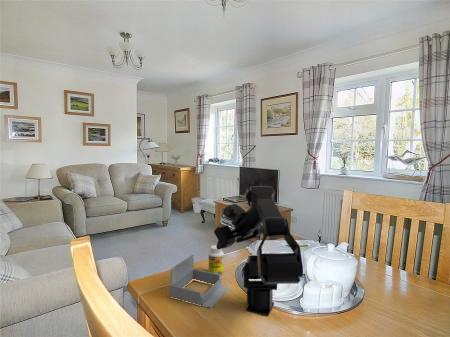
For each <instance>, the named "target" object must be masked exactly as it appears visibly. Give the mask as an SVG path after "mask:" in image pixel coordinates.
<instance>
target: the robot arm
mask: <svg viewBox="0 0 450 337" xmlns="http://www.w3.org/2000/svg"><path fill="white" fill-rule="evenodd" d="M276 195H277V194H276V190H275V189H274V188H273V186H271V185H270V186H269V185H262V183H260V180H252V183H250V184H248V185H247V187H246V188H245V193H244V194H243V196H244V199H245V200H246V202H247V205H248V206H249V208H248V209H247V210H245V209H244V208H243V207H241V206H240V205H238V203H237V204H236V203H232V204H227V206H225V208H223V211H222V215H223V216H225V217H226V218H227V219H230V220H232V221H231V225H232V226H234V229H233V230H231V228H230V226H229V225H227V224H223V225H219V226H216V227H215V229H214V230H213V233H214V234H215V236H216V238H217V243H216V245H217V246H216V247H217V249H218V250H219V249H222V250H223V249H227V248H229V247H232V246H233V245H234V244H235V243H236V244H238V243H239V244H240V243H241V242H245V241H248V240H252V239H255V238H257V237H261V236H263V237H262V239H261V240H260V243H259V244H258V245H259V246H258V247H257V250H256V255H248V258H247V260H246V262H244V266H243V267H242V271H243V272H242V274H243V276H242V277H243V288H245V289H246V305H247V306H246V311H248V312H251V313H255V314H259V315H262V316H263V315H264V316H267V317H268V316H270V313H271V311H272V310H273V308H274V306H273V305H275V303H274V302H273V296H274V295H273V290H274V291H277V290H278V284H279V285H280V284H285V285H287V284H289V285H290V284H294V285H295V284H299V283H300V282H301V278H302V277H303V275H304V265H303V257H302V252H301V247H300V244H298V242H297V241H296V240H295V238H294V236H293V235H292V234H291V233H290V227H289V222H288V219H287V218H284V217H283V215H282V213H281V212H280V210H279V208H278V206H277V205H276V201H277V200H276V198H277V196H276ZM267 237H282V238H283V239H284V241H285V242H286V243H287V245H288V246H289V248H290V249H291V251H292V252H288V253H287V252H285V253H284V252H281V253H280V252H277V253H274V252H273V253H270V252H269V253H263V249H262V247H263V245H264V243H265V241H266V239H267Z"/></svg>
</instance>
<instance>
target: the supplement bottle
mask: <svg viewBox="0 0 450 337" xmlns="http://www.w3.org/2000/svg"><path fill="white" fill-rule="evenodd" d="M216 246H217V244H216V245H215V244H214V245H211V246H210V251H209V252H208V272H212V273H217V274H220V277H222V276H223V275H224V270H225V269H224V268H225V267H224V263H225V262H224V259H225V258H224V257H225V256H224V255H225V254H224V251H222V250H223V248H222V249H219V250H218V249H217V247H216ZM222 274H223V275H222ZM221 275H222V276H221Z"/></svg>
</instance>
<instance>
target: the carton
mask: <svg viewBox="0 0 450 337" xmlns="http://www.w3.org/2000/svg"><path fill="white" fill-rule="evenodd" d="M192 279H196V280H200V281H204V282H207V283H211V284H214V285H211V287H210V288H209V289H208V290H207V291H206V292H205V293H204V294H203V295H202V291H199V290H195V289H191V288H187V287H185V288H183V287H184V286H185V285H187V284H188V283H189V282H190V281H191V280H192ZM222 280H223V279H222V278H221V276H220V274H217V273H212V272H209V271H208V270H206V271H205V270H202V269H195V268H194V254H192V255H190V256H189V257H187V258H185V259H184V260H183V261H180V262H179V263H178V264H176V265H175V266H173V267H171V268H170V285H169V298H170V297H173V298H177V299H180V300H184V301H188V302H191V303H195V304H198V305H201V306H203V305H204V306H207V307H210V308H209V309H211V308H212V307H213V306H214V305H215V304H216V303H217V304H218V303H219V301H220V300H221V299H222V298H223V297H222V296H223V295H224V296H225V295H226V293H227V292H228V291H229V290H230V289H229V288H230V286H225V285H222V282H223V281H222ZM228 289H229V290H228ZM227 290H228V291H227ZM226 291H227V292H226ZM221 297H222V298H221ZM217 304H216V305H217ZM216 305H215V306H216ZM201 306H200V307H201ZM215 306H214V307H215ZM207 307H206V308H207ZM214 307H213V308H214ZM213 308H212V309H213Z"/></svg>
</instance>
